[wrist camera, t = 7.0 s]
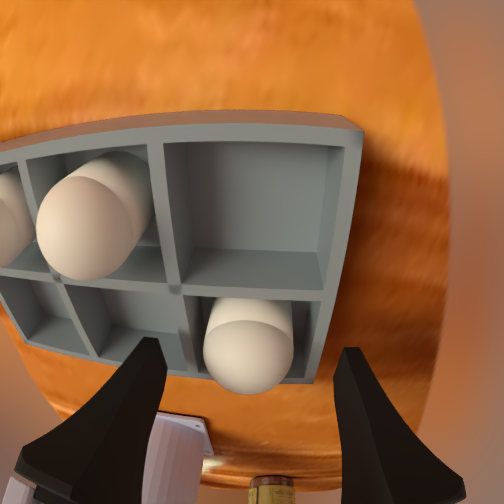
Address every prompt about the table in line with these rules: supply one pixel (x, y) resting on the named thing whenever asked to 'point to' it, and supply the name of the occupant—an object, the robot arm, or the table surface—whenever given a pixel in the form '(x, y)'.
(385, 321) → the table surface
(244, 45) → the table surface
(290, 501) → the sauce bottle
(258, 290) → the carton
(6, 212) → the egg
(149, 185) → the egg
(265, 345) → the egg
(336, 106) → the table surface
